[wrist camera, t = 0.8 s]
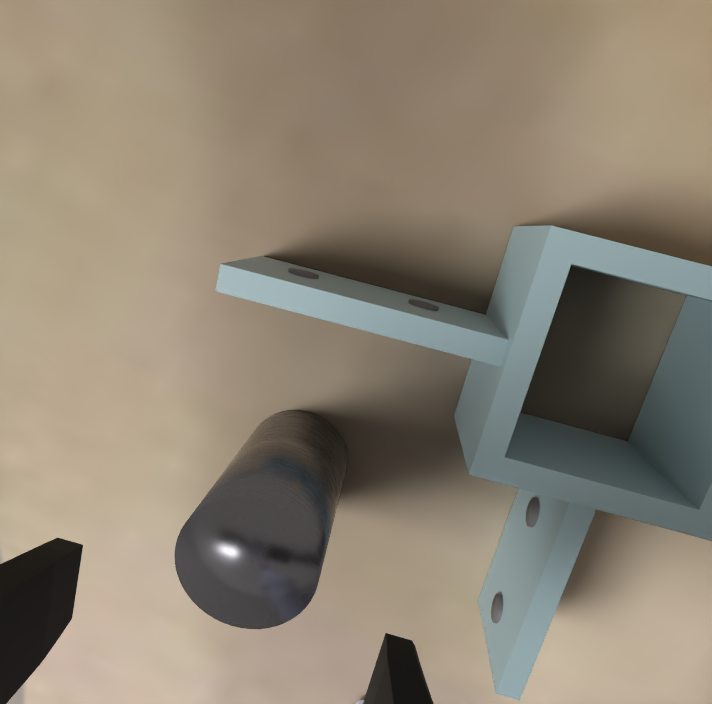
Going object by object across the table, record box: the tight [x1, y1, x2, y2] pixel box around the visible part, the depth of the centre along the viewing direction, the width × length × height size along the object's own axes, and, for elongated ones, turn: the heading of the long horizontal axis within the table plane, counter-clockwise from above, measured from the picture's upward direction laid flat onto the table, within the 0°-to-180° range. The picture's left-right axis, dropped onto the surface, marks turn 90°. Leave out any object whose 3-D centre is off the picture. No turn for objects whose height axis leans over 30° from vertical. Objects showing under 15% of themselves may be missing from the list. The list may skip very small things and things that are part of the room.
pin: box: [175, 410, 347, 629], centre depth 18 cm, size 4×4×7 cm
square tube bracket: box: [216, 225, 712, 700], centre depth 18 cm, size 15×16×5 cm
